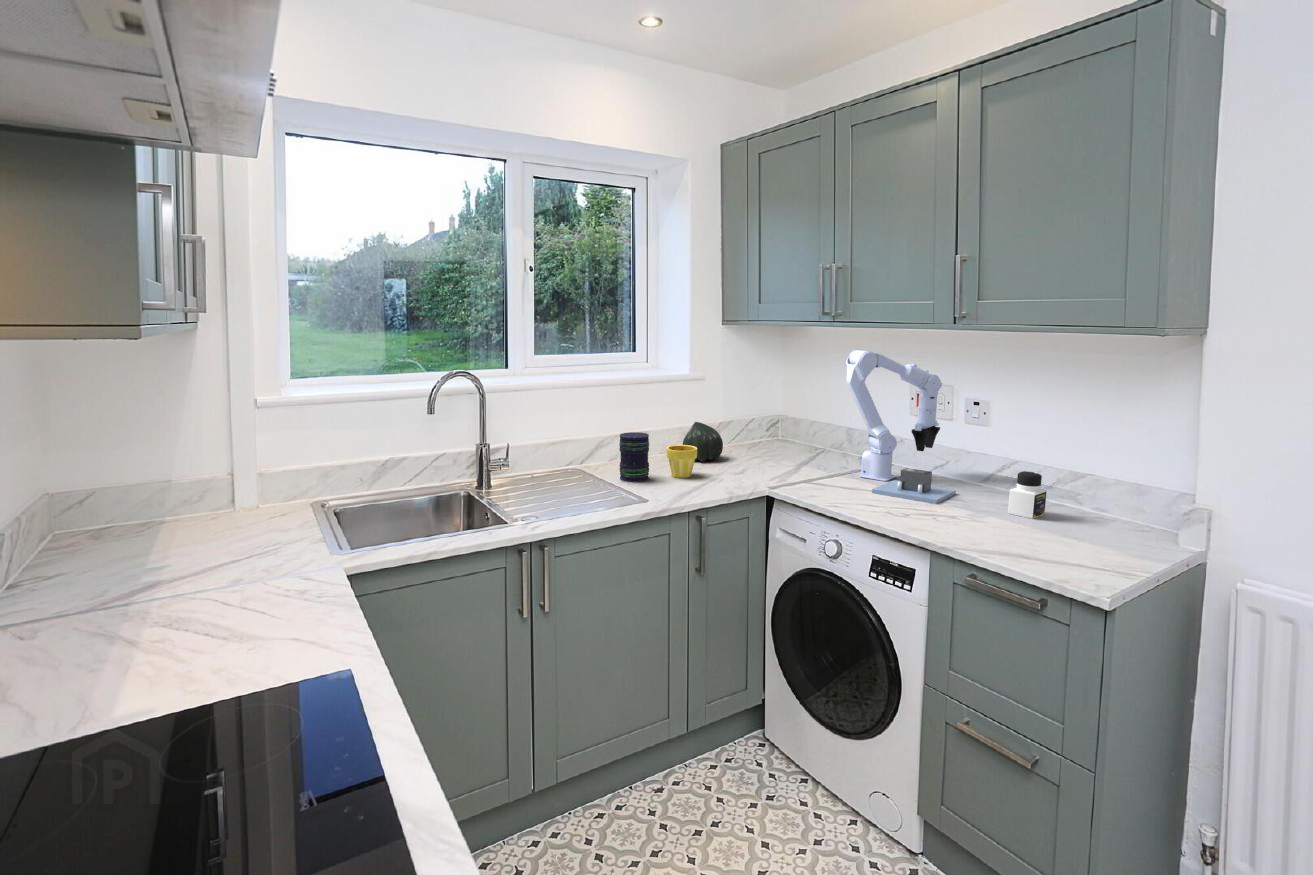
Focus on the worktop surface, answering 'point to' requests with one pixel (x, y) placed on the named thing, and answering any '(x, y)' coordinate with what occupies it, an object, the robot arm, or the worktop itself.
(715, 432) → the squash
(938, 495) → the tray
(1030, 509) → the medicine bottle
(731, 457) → the worktop surface
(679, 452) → the plant pot
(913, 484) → the grey notched block
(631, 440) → the storage jar
